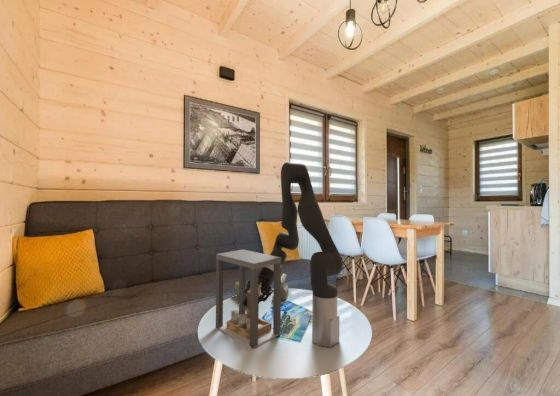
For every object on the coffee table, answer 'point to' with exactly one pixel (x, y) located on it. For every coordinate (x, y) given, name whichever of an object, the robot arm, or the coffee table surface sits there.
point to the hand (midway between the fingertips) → (248, 306)
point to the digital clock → (284, 287)
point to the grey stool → (252, 262)
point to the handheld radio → (237, 289)
